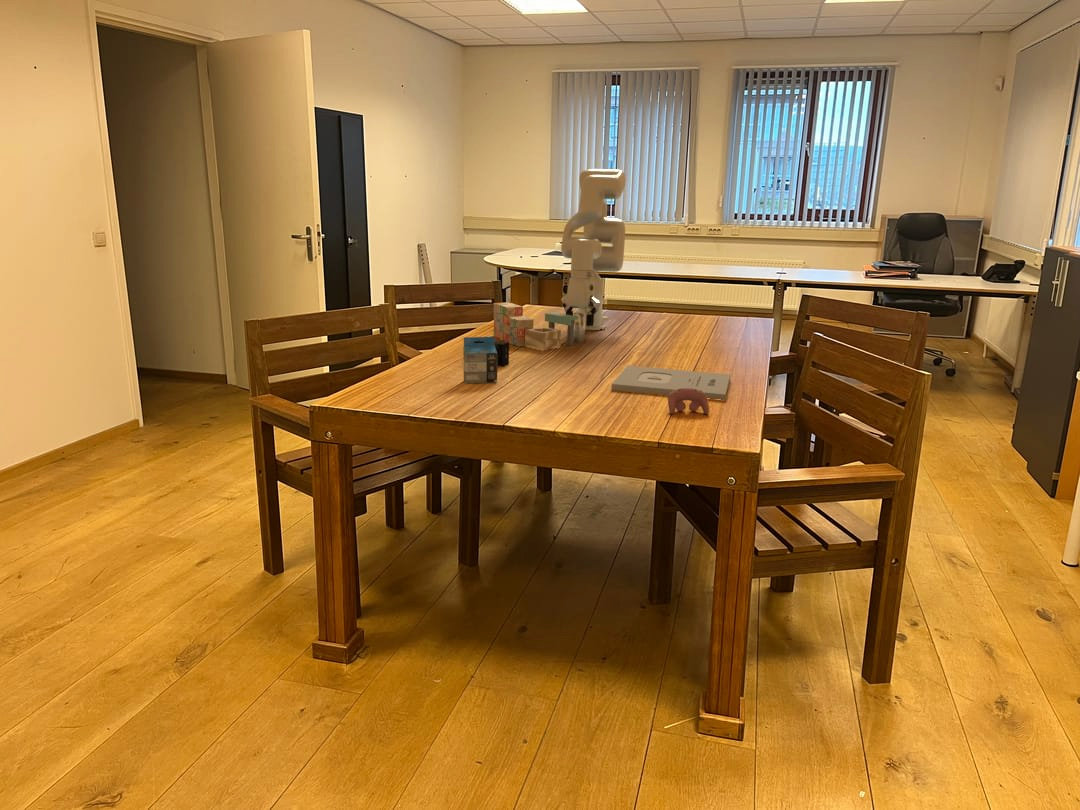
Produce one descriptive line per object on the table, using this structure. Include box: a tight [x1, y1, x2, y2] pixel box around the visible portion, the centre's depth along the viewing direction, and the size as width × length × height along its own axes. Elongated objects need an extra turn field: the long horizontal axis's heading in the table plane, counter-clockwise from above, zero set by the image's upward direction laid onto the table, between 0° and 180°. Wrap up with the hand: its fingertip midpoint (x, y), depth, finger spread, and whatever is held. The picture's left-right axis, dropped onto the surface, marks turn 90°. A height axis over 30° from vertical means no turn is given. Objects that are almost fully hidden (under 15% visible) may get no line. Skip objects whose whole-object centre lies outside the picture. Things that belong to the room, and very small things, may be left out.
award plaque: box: [610, 365, 731, 401], centre depth 217 cm, size 25×30×2 cm
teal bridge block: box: [544, 311, 578, 346], centre depth 271 cm, size 4×12×10 cm, turn 46°
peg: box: [573, 311, 586, 343], centre depth 276 cm, size 4×4×10 cm
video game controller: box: [667, 388, 710, 415], centre depth 191 cm, size 10×5×7 cm, turn 92°
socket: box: [524, 326, 562, 352], centre depth 264 cm, size 9×8×6 cm
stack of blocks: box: [493, 302, 534, 347], centre depth 274 cm, size 21×6×12 cm, turn 25°
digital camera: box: [474, 340, 510, 368], centre depth 237 cm, size 10×5×7 cm, turn 64°
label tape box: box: [462, 336, 498, 384], centre depth 214 cm, size 9×4×12 cm, turn 105°
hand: (579, 324), depth 275 cm, fingers open, 9 cm apart
